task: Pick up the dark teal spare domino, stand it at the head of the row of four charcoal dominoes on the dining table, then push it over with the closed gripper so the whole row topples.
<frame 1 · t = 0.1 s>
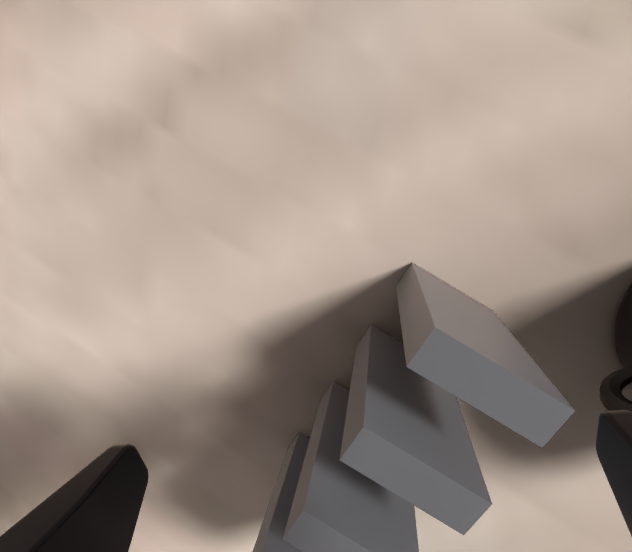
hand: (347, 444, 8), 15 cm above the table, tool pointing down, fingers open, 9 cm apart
domino 3: (362, 412, 25), on the table
domino 5: (443, 298, 23), on the table
domino 2: (327, 462, 26), on the table
domino 4: (401, 358, 24), on the table
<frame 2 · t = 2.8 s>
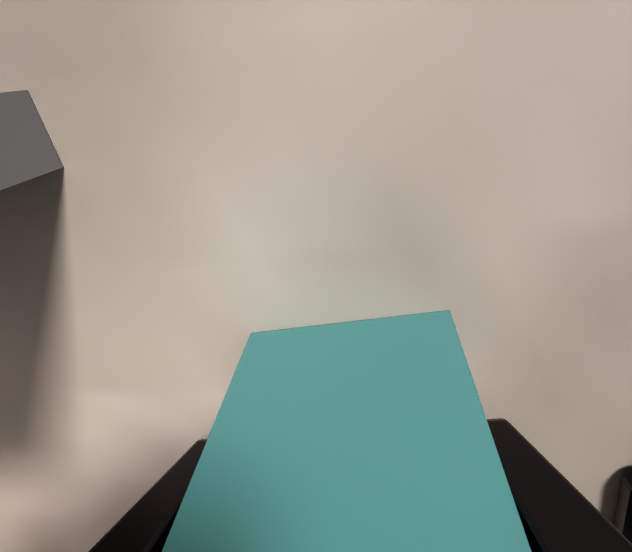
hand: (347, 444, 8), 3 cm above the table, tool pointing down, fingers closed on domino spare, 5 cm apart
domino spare: (351, 347, 11), on the table, touching gripper
when the fingers open (4 cm above the table, at t = 6.6 s): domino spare stays where it is, on the table.
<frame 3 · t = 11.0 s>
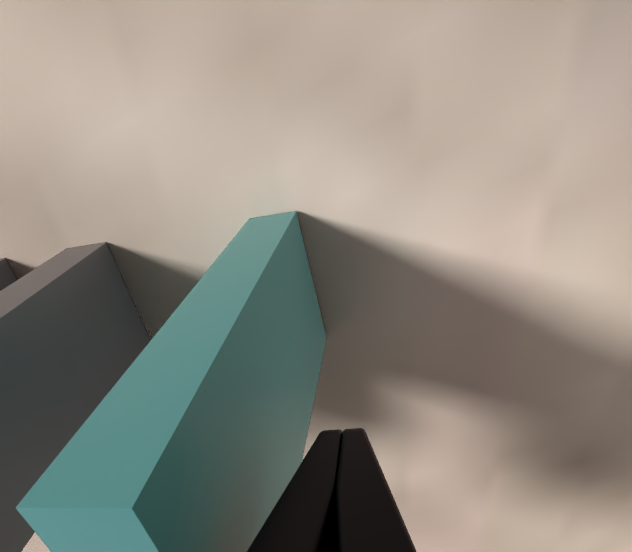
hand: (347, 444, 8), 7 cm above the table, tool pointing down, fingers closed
domino 3: (20, 317, 17), on the table
domino 2: (114, 305, 16), on the table
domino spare: (290, 282, 15), on the table, touching gripper
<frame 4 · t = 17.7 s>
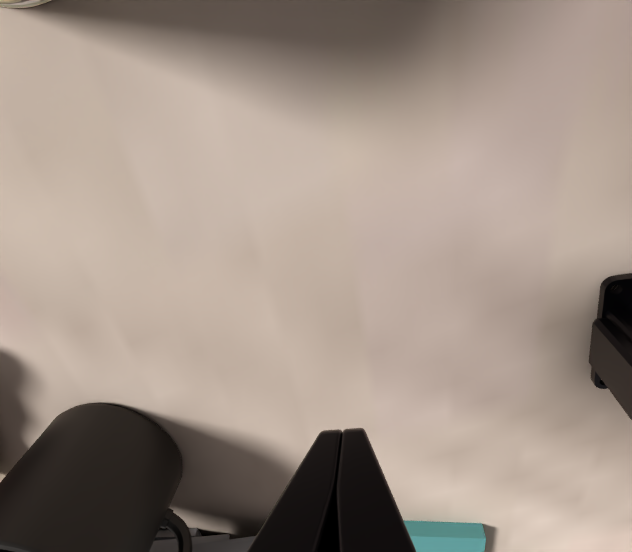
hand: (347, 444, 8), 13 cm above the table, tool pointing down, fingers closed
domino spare: (480, 549, 30), on the table, tilted 90°
mug: (137, 456, 30), on the table
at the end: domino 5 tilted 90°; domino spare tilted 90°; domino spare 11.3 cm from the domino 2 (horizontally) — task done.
